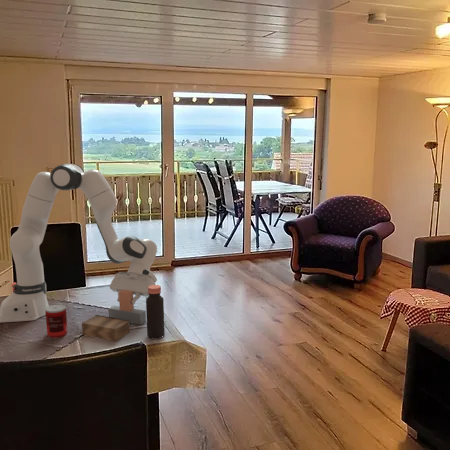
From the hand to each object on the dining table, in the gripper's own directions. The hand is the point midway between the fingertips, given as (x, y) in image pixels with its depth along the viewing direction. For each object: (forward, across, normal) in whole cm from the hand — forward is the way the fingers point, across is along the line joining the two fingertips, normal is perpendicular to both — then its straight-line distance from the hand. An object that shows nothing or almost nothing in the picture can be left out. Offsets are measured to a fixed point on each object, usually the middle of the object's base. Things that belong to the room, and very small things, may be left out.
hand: (125, 302), depth 201 cm
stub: (+5, 0, +6) cm, 8 cm away
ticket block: (+16, 0, -4) cm, 16 cm away
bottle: (+12, +19, 0) cm, 22 cm away
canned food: (+21, -18, -9) cm, 29 cm away
